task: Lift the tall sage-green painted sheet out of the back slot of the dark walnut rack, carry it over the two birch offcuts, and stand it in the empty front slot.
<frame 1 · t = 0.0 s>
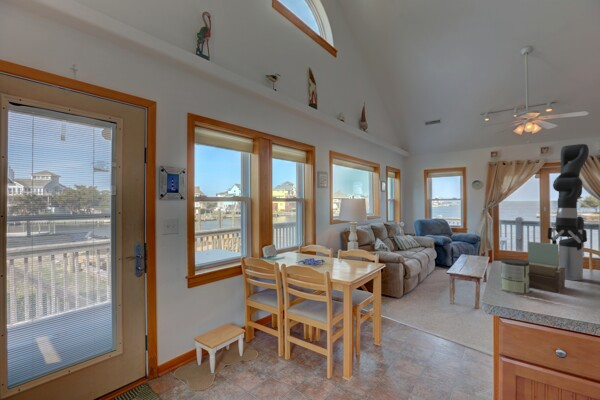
hand: (566, 249, 140), 17 cm above the table, tool pointing down, fingers open, 8 cm apart
coffee can: (514, 291, 127), on the table
rack: (540, 287, 132), on the table
tall sheet: (542, 284, 135), point 1 cm above the table, touching rack
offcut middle: (541, 285, 133), point 1 cm above the table, touching rack
offcut front: (539, 286, 131), point 1 cm above the table, touching rack
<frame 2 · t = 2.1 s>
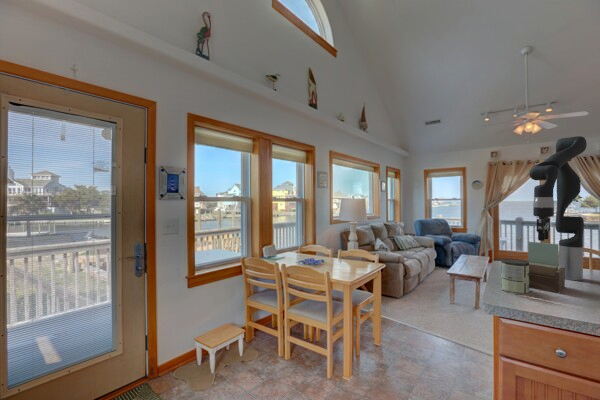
hand: (543, 239, 134), 23 cm above the table, tool pointing down, fingers open, 8 cm apart
nothing on the table moved.
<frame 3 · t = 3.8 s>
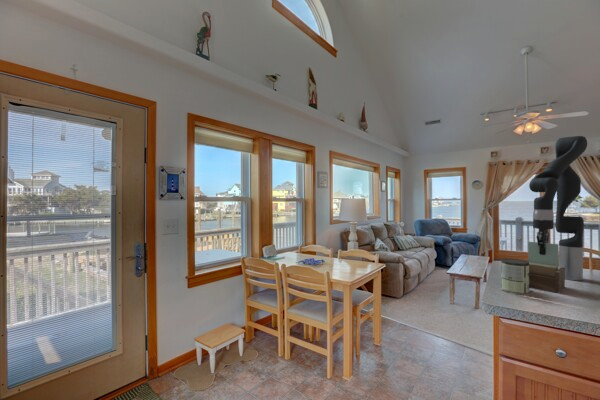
hand: (542, 254, 135), 16 cm above the table, tool pointing down, fingers closed on tall sheet, 1 cm apart
tall sheet: (542, 284, 135), point 1 cm above the table, touching gripper, rack
everything else where it was.
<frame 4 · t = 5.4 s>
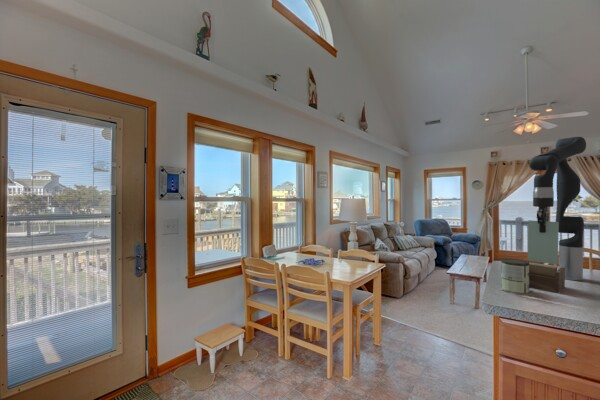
hand: (542, 232, 134), 26 cm above the table, tool pointing down, fingers closed on tall sheet, 1 cm apart
tall sheet: (542, 262, 135), point 12 cm above the table, touching gripper
everything else where it was.
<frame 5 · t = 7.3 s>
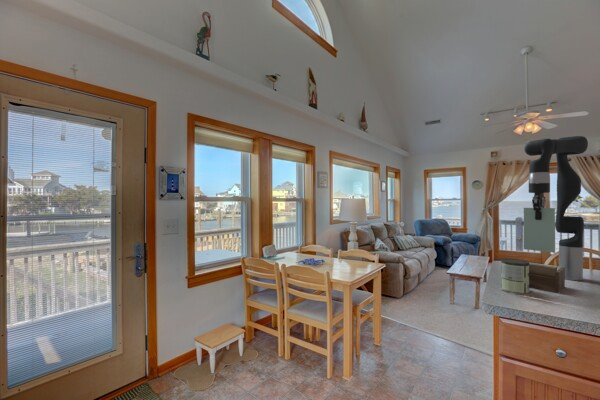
hand: (538, 219, 129), 33 cm above the table, tool pointing down, fingers closed on tall sheet, 1 cm apart
tall sheet: (538, 250, 129), point 18 cm above the table, touching gripper
everything else where it was.
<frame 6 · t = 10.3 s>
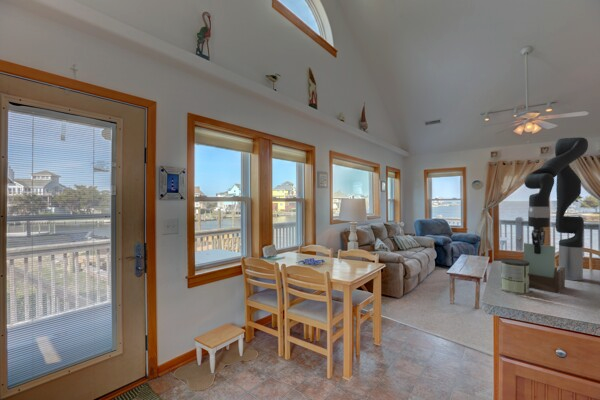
hand: (538, 253, 129), 17 cm above the table, tool pointing down, fingers open, 3 cm apart
tall sheet: (538, 287, 129), point 1 cm above the table, touching rack
everything else where it was.
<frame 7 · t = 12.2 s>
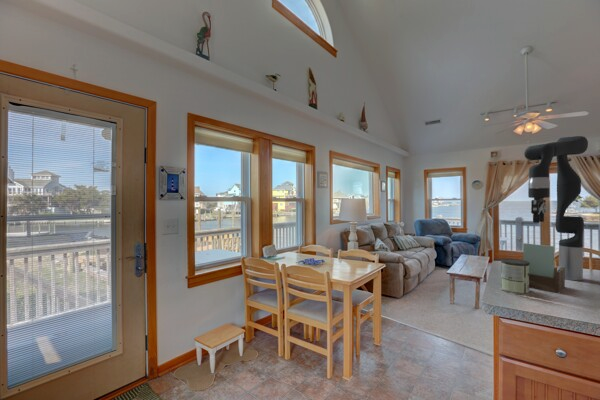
hand: (538, 222, 129), 32 cm above the table, tool pointing down, fingers open, 8 cm apart
nothing on the table moved.
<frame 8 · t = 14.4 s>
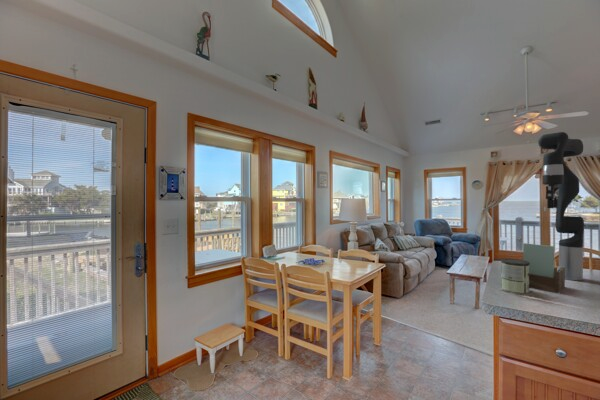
hand: (552, 208, 134), 38 cm above the table, tool pointing down, fingers open, 8 cm apart
nothing on the table moved.
at the end: tall sheet 0.1 cm from the target spot on the rack, point 1.0 cm above the rack's base; tall sheet tilted 0°; the gripper is holding nothing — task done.
